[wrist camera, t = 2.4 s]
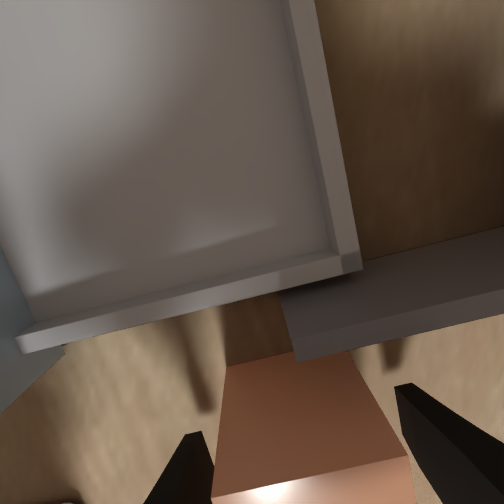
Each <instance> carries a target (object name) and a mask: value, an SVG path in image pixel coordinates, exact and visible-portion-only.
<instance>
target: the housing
mask: <svg viewBox="0 0 504 504" xmlns="http://www.w3.org/2000/svg"><path fill="white" fill-rule="evenodd" d="M362 264H363V270H359V271H355V272H351V273H347V274H343V275H339V276H335V277H331V278H327V279H323V280H319V281H315V282H311V283H307V284H303V285H299V286H295V287H291V288H287V289H283V290H279V291H278V295H279V299H280V302H281V306H282V310H283V313H284V317H285V321H286V325H287V328H288V332H289V336H290V340H291V343H292V347H293V351H294V354H295V358H296V362H301V361H305V360H310V359H314V358H318V357H322V356H327V355H331V354H335V353H339V352H343V351H348V350H352V349H356V348H360V347H364V346H369V345H373V344H377V343H381V342H386V341H390V340H394V339H398V338H402V337H407V336H411V335H415V334H419V333H423V332H428V331H432V330H436V329H440V328H445V327H449V326H453V325H457V324H461V323H466V322H470V321H474V320H478V319H483V318H487V317H491V316H495V315H499V314H504V226H503V227H499V228H495V229H491V230H487V231H483V232H479V233H475V234H471V235H467V236H463V237H459V238H455V239H451V240H447V241H443V242H439V243H435V244H431V245H427V246H423V247H419V248H415V249H411V250H407V251H403V252H399V253H395V254H391V255H387V256H383V257H379V258H375V259H371V260H367V261H363V262H362Z"/></svg>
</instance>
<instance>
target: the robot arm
mask: <svg viewBox="0 0 504 504" xmlns="http://www.w3.org/2000/svg"><path fill="white" fill-rule="evenodd" d="M394 389H395V395H396V400H397V406H398V412H399V417H400V423H401V429H402V434H403V436H404V438H405V440H406V442H407V444H408V446H409V448H410V450H411V452H412V454H413V456H414V458H415V460H416V461H417V463H418V465H419V467H420V469H421V470H422V472H423V473H424V475H425V476H426V478H427V480H428V481H429V483H430V484H431V486H432V487H433V489H434V490H435V492H436V494H437V495H438V497H439V498H440V500H441V501H442V503H443V504H504V443H502V442H501V441H499V440H497V439H496V438H494V437H492V436H491V435H489V434H488V433H486V432H484V431H483V430H481V429H479V428H478V427H476V426H475V425H473V424H472V423H470V422H469V421H467V420H466V419H464V418H462V417H461V416H459V415H458V414H456V413H455V412H453V411H452V410H450V409H449V408H447V407H446V406H445V405H443V404H442V403H440V402H439V401H437V400H436V399H434V398H433V397H432V396H430V395H429V394H427V393H426V392H424V391H423V390H422V389H420V388H419V387H417V386H416V385H414V384H413V383H408V384H403V385H399V386H395V387H394ZM213 476H214V465H213V462H212V459H211V457H210V454H209V451H208V448H207V445H206V443H205V440H204V437H203V434H202V431H198V432H194V433H190V434H185V436H184V437H183V439H182V441H181V442H180V444H179V446H178V447H177V449H176V451H175V452H174V454H173V456H172V457H171V459H170V461H169V463H168V464H167V466H166V468H165V469H164V471H163V473H162V474H161V476H160V478H159V479H158V481H157V483H156V484H155V486H154V487H153V489H152V491H151V492H150V494H149V496H148V497H147V499H146V500H145V502H144V503H143V504H213V503H212V500H211V493H212V484H213ZM63 504H73V503H63Z"/></svg>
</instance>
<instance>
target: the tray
mask: <svg viewBox="0 0 504 504" xmlns="http://www.w3.org/2000/svg"><path fill="white" fill-rule="evenodd" d="M359 270H363V264H362V259H361V253H360V248H359V242H358V237H357V231H356V226H355V220H354V215H353V209H352V204H351V199H350V193H349V188H348V182H347V177H346V171H345V166H344V160H343V155H342V149H341V144H340V139H339V133H338V128H337V122H336V117H335V111H334V106H333V100H332V95H331V89H330V84H329V78H328V73H327V68H326V62H325V57H324V51H323V46H322V40H321V35H320V29H319V24H318V18H317V13H316V7H315V2H314V0H0V414H1V413H2V412H3V411H4V410H5V409H6V408H8V407H9V406H10V405H11V404H12V403H13V402H14V401H15V400H16V399H17V398H18V397H19V396H20V395H21V394H23V393H24V392H25V391H26V390H27V389H28V388H29V387H30V386H31V385H32V384H33V383H34V382H35V381H37V380H38V379H39V378H40V377H41V376H42V375H43V374H44V373H45V372H46V371H47V370H48V369H49V368H50V367H52V366H53V365H54V364H55V363H56V362H57V361H58V360H59V359H60V358H61V357H62V356H63V355H64V354H65V352H64V350H63V348H62V346H61V345H62V344H66V343H70V342H74V341H78V340H82V339H86V338H90V337H94V336H98V335H102V334H106V333H110V332H114V331H118V330H122V329H126V328H130V327H134V326H138V325H142V324H146V323H150V322H154V321H158V320H162V319H166V318H170V317H174V316H179V315H183V314H187V313H191V312H195V311H199V310H203V309H207V308H211V307H215V306H219V305H223V304H227V303H231V302H235V301H239V300H243V299H247V298H251V297H255V296H259V295H263V294H267V293H271V292H275V291H279V290H283V289H287V288H291V287H295V286H299V285H303V284H307V283H311V282H315V281H319V280H323V279H327V278H331V277H335V276H339V275H343V274H347V273H351V272H355V271H359Z"/></svg>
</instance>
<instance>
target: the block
mask: <svg viewBox="0 0 504 504" xmlns="http://www.w3.org/2000/svg"><path fill="white" fill-rule="evenodd" d="M211 500H212V503H213V504H416V498H415V492H414V487H413V481H412V475H411V469H410V463H409V457H408V454H407V452H406V451H405V449H404V447H403V446H402V444H401V442H400V441H399V439H398V437H397V435H396V434H395V432H394V430H393V429H392V427H391V425H390V424H389V422H388V420H387V418H386V417H385V415H384V413H383V412H382V410H381V408H380V407H379V405H378V403H377V401H376V400H375V398H374V396H373V395H372V393H371V391H370V389H369V388H368V386H367V384H366V383H365V381H364V379H363V378H362V376H361V374H360V372H359V371H358V369H357V367H356V366H355V364H354V362H353V361H352V359H351V357H350V355H349V354H348V352H347V351H343V352H339V353H335V354H331V355H327V356H322V357H318V358H314V359H310V360H305V361H301V362H296V358H295V354H294V351H293V352H288V353H284V354H280V355H276V356H272V357H267V358H263V359H259V360H255V361H251V362H246V363H242V364H238V365H234V366H229V367H226V375H225V383H224V391H223V400H222V408H221V417H220V425H219V434H218V442H217V451H216V459H215V467H214V476H213V484H212V493H211Z"/></svg>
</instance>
